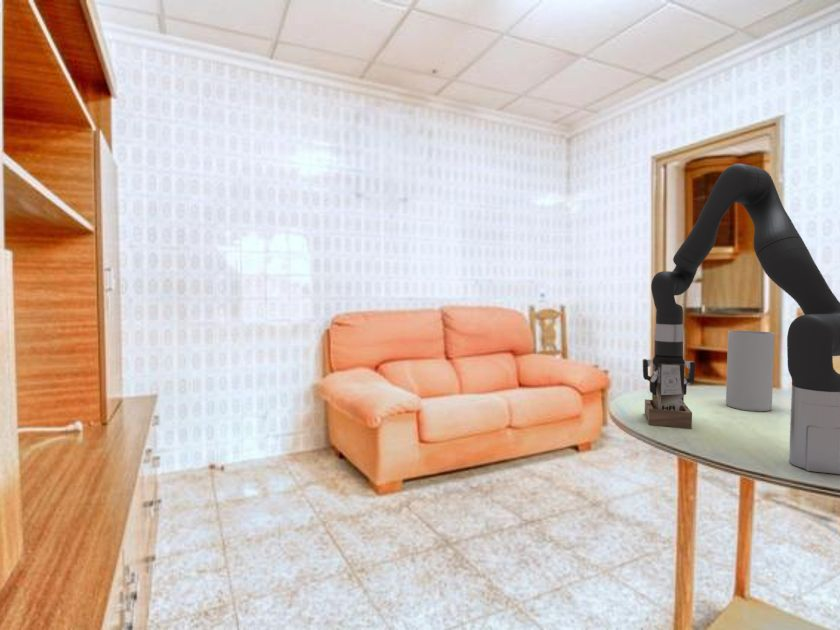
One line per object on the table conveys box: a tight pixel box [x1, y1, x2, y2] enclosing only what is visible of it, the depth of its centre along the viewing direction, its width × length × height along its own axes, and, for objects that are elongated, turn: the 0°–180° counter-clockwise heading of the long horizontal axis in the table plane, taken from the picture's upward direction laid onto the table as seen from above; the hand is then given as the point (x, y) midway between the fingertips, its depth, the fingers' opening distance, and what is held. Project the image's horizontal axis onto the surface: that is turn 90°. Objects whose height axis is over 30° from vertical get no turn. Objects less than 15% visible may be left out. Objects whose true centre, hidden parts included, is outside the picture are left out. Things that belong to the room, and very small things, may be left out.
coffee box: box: [651, 363, 686, 411], centre depth 140 cm, size 9×6×16 cm
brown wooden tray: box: [644, 398, 693, 430], centre depth 141 cm, size 14×11×4 cm
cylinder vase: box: [725, 330, 775, 413], centre depth 157 cm, size 12×12×25 cm
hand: (667, 395), depth 140 cm, fingers closed on coffee box, 7 cm apart
